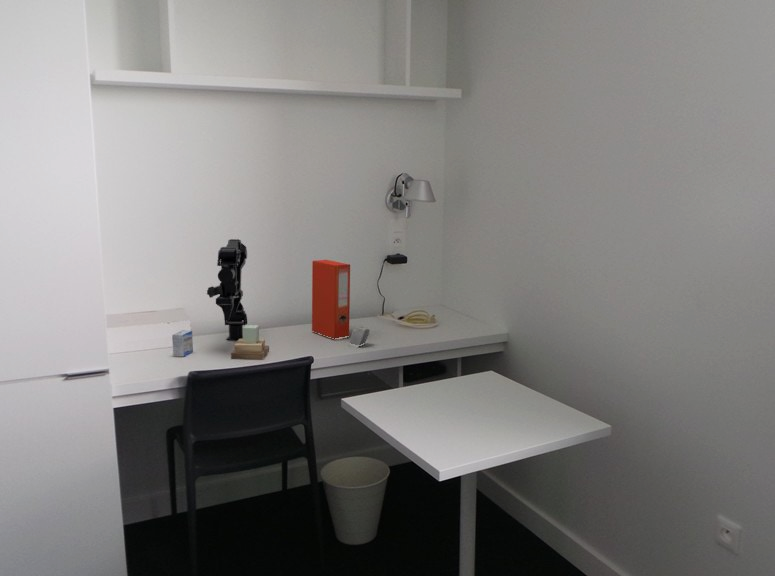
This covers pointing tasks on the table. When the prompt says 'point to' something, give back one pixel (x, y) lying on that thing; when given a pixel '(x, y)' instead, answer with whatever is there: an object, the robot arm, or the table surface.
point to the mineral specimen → (359, 335)
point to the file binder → (330, 298)
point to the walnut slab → (251, 355)
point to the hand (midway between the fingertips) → (230, 317)
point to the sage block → (251, 334)
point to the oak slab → (249, 346)
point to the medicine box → (182, 343)
